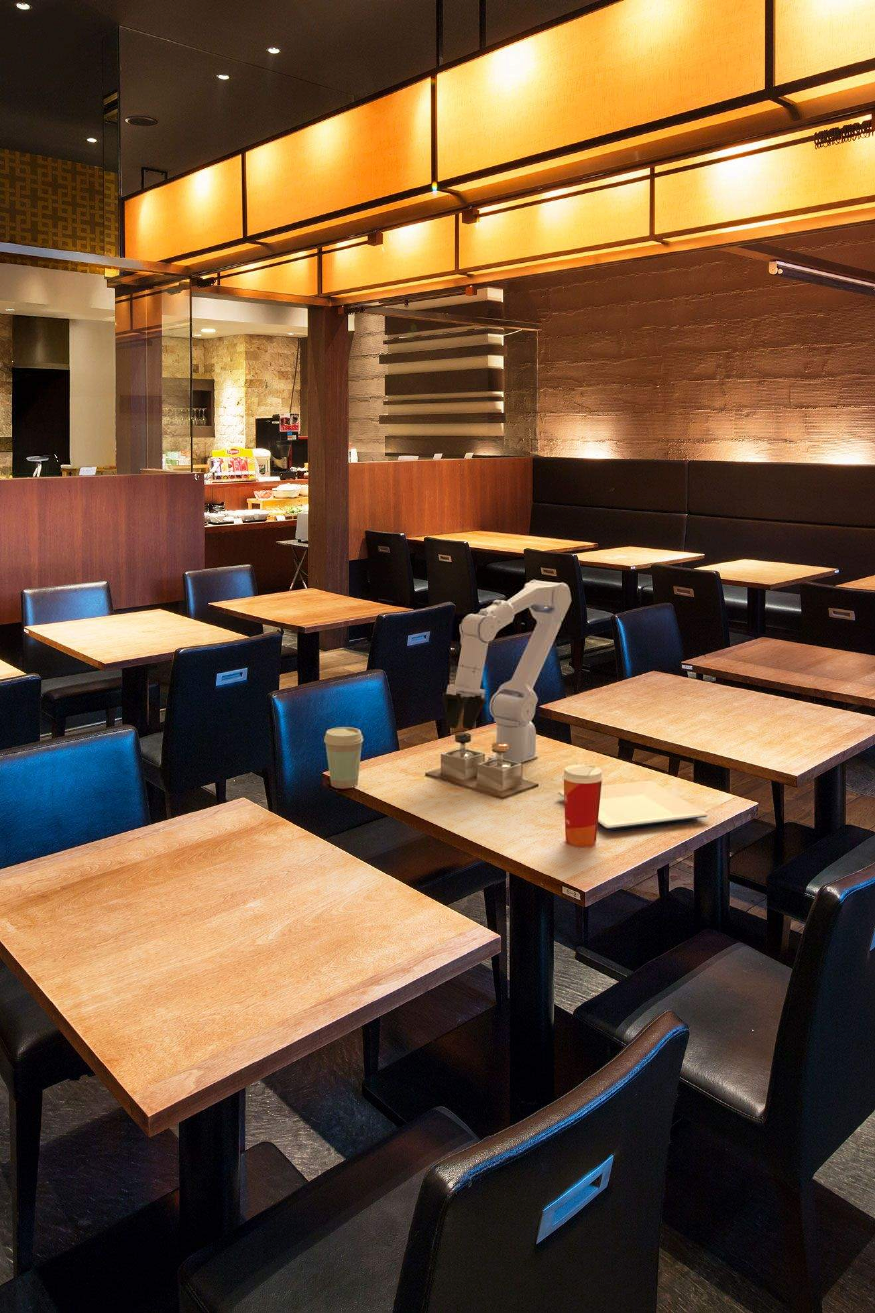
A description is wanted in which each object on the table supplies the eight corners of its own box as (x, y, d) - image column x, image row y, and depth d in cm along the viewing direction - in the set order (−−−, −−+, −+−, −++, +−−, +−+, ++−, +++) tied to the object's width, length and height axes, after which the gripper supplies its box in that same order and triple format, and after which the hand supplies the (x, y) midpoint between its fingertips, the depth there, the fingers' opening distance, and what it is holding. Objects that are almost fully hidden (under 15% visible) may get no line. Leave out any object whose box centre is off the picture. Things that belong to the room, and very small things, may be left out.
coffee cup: (362, 791, 218) (361, 737, 215) (322, 790, 218) (321, 736, 216) (365, 778, 226) (364, 726, 224) (327, 778, 226) (326, 726, 224)
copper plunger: (498, 762, 224) (499, 740, 223) (515, 767, 220) (515, 744, 219) (484, 767, 220) (484, 744, 219) (501, 772, 217) (501, 748, 216)
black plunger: (462, 752, 231) (462, 730, 230) (477, 757, 228) (478, 734, 227) (447, 757, 228) (447, 734, 227) (463, 761, 224) (463, 738, 223)
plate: (606, 837, 192) (607, 826, 192) (556, 799, 213) (556, 790, 213) (708, 824, 199) (709, 814, 199) (650, 789, 220) (651, 779, 220)
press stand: (461, 763, 237) (461, 743, 236) (538, 785, 221) (538, 763, 220) (425, 775, 229) (425, 753, 228) (502, 799, 213) (502, 776, 212)
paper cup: (574, 831, 195) (576, 761, 192) (609, 840, 190) (611, 769, 187) (551, 843, 189) (553, 770, 186) (587, 853, 184) (589, 779, 181)
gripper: (470, 667, 234) (459, 725, 234) (439, 662, 221) (428, 723, 221) (497, 672, 230) (486, 731, 230) (467, 667, 218) (456, 730, 218)
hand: (459, 728), depth 226 cm, fingers open, 7 cm apart
